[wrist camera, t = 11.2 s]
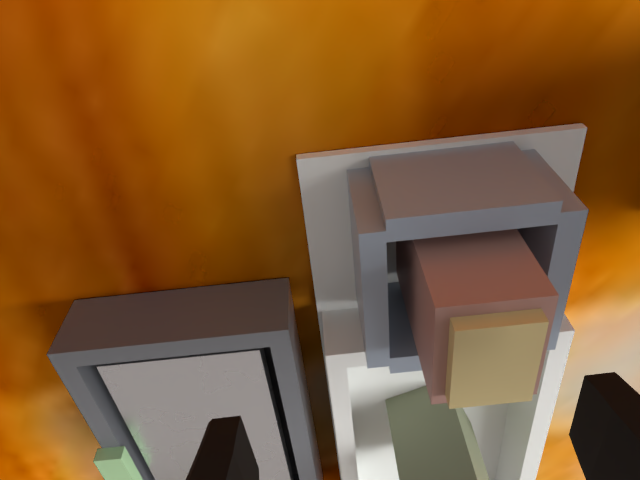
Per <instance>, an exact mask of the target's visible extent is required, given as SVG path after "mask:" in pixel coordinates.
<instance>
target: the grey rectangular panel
mask: <svg viewBox="0 0 640 480" xmlns="http://www.w3.org/2000/svg"><path fill="white" fill-rule="evenodd" d="M97 369H98V371H99V373H100V375H101V377H102V379H103V381H104V382H105V384H106V386H107V388H108V390H109V392H110V394H111V396H112V398H113V400H114V402H115V404H116V405H117V407H118V409H119V411H120V413H121V415H122V417H123V419H124V421H125V423H126V425H127V427H128V428H129V430H130V432H131V434H132V436H133V438H134V440H135V442H136V444H137V446H138V448H139V450H140V452H141V453H142V455H143V457H144V459H145V461H146V463H147V465H148V467H149V469H150V471H151V473H152V475H153V476H154V478H155V480H186V477H187V475H188V473H189V471H190V468H191V466H192V463H193V461H194V459H195V456H196V454H197V451H198V449H199V446H200V444H201V441H202V439H203V436H204V433H205V431H206V428H207V425H208V423H209V422H210V421H211V420H212V419H215V418H223V417H232V416H241V418H242V421H243V424H244V427H245V430H246V433H247V436H248V438H249V441H250V444H251V447H252V450H253V453H254V456H255V459H256V462H257V465H258V467H259V480H294V476H293V472H292V468H291V463H290V459H289V455H288V451H287V446H286V442H285V438H284V434H283V429H282V425H281V421H280V416H279V412H278V408H277V404H276V399H275V395H274V391H273V387H272V382H271V378H270V374H269V369H268V365H267V361H266V357H265V352H264V348H255V349H246V350H236V351H226V352H216V353H207V354H197V355H187V356H177V357H167V358H158V359H148V360H138V361H128V362H118V363H109V364H99V365H97Z"/></svg>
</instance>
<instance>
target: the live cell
mask: <svg viewBox="0 0 640 480" xmlns="http://www.w3.org/2000/svg"><path fill="white" fill-rule="evenodd" d="M385 402H386V408H387V413H388V419H389V425H390V430H391V436H392V442H393V447H394V453H395V458H396V464H397V470H398V475H399V480H489V477H488V474H487V470H486V467H485V464H484V461H483V458H482V455H481V452H480V449H479V446H478V443H477V440H476V437H475V434H474V431H473V428H472V425H471V422H470V420H469V418H468V417H467V415H466V413H465V411H464V409H463V408H455V409H449V407H448V404H447V403H443V404H433V405H431V402H430V398H429V394H428V390H427V387H426V386H423V387H420V388H417V389H414V390H412V391H409V392H406V393H403V394H400V395H397V396H394V397H391V398H389V399H386V400H385Z"/></svg>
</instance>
